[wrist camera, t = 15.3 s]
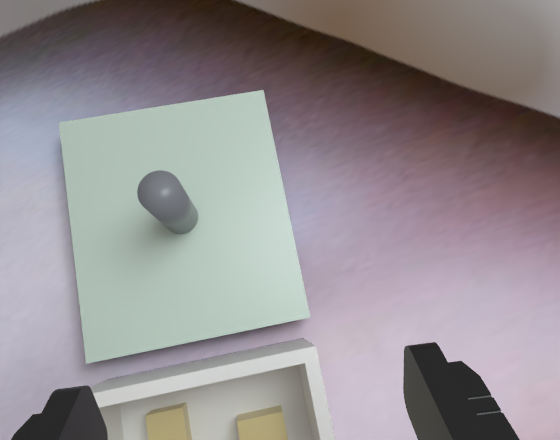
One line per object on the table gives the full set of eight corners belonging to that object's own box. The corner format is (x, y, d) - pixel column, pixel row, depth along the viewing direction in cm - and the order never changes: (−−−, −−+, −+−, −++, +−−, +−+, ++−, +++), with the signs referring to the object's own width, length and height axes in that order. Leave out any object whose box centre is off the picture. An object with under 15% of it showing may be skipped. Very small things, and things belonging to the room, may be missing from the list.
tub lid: (262, 105, 36) (265, 33, 26) (306, 316, 33) (326, 320, 23) (72, 135, 34) (4, 71, 25) (99, 359, 31) (33, 381, 22)
